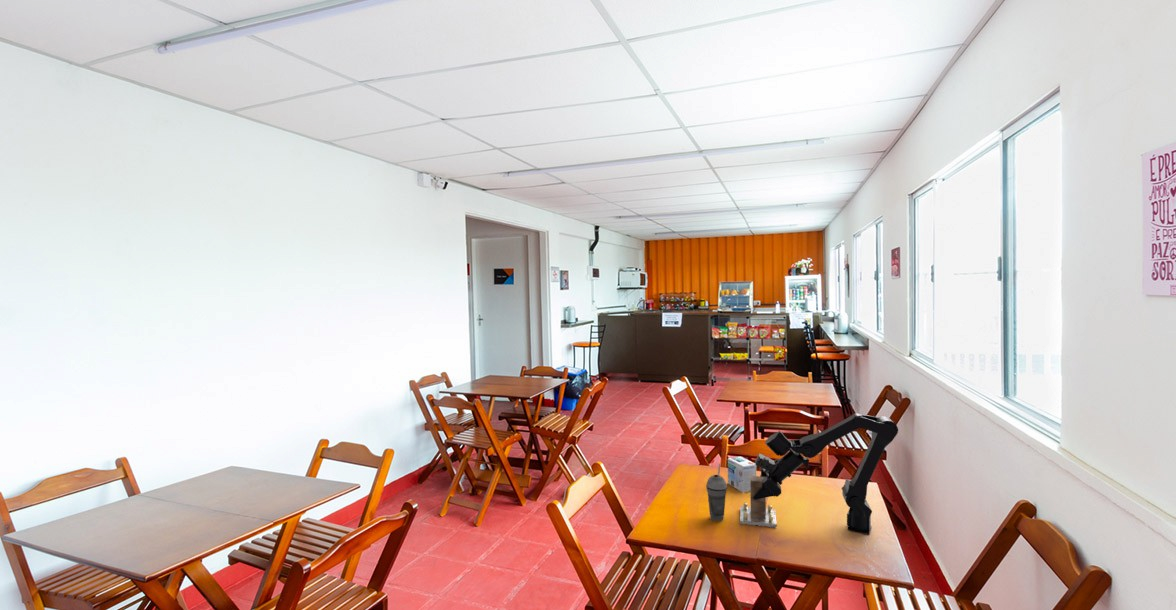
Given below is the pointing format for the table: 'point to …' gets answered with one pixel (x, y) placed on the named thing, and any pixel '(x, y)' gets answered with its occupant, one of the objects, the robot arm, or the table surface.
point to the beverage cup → (716, 496)
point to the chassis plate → (747, 519)
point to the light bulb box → (740, 473)
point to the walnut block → (760, 504)
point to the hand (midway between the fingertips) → (753, 493)
